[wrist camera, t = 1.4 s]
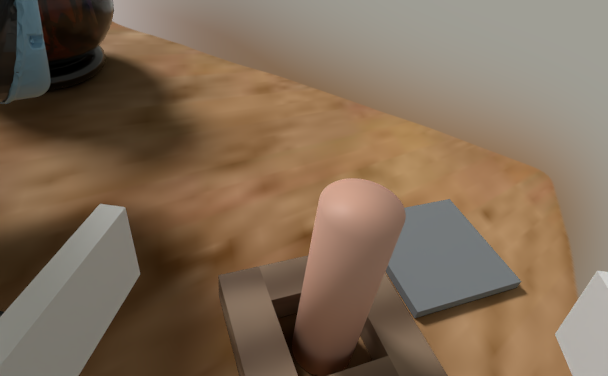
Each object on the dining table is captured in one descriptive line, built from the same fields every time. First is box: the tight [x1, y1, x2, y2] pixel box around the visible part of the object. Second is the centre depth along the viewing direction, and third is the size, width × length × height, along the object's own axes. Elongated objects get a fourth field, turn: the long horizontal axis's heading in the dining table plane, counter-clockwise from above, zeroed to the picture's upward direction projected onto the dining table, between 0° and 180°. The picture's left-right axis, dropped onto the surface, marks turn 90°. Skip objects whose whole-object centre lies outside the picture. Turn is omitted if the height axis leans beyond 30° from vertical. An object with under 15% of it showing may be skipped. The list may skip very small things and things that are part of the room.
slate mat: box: [386, 199, 521, 318], centre depth 43 cm, size 12×12×1 cm
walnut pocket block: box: [218, 256, 447, 376], centre depth 34 cm, size 14×14×3 cm
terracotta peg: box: [292, 178, 406, 376], centre depth 29 cm, size 5×5×16 cm
